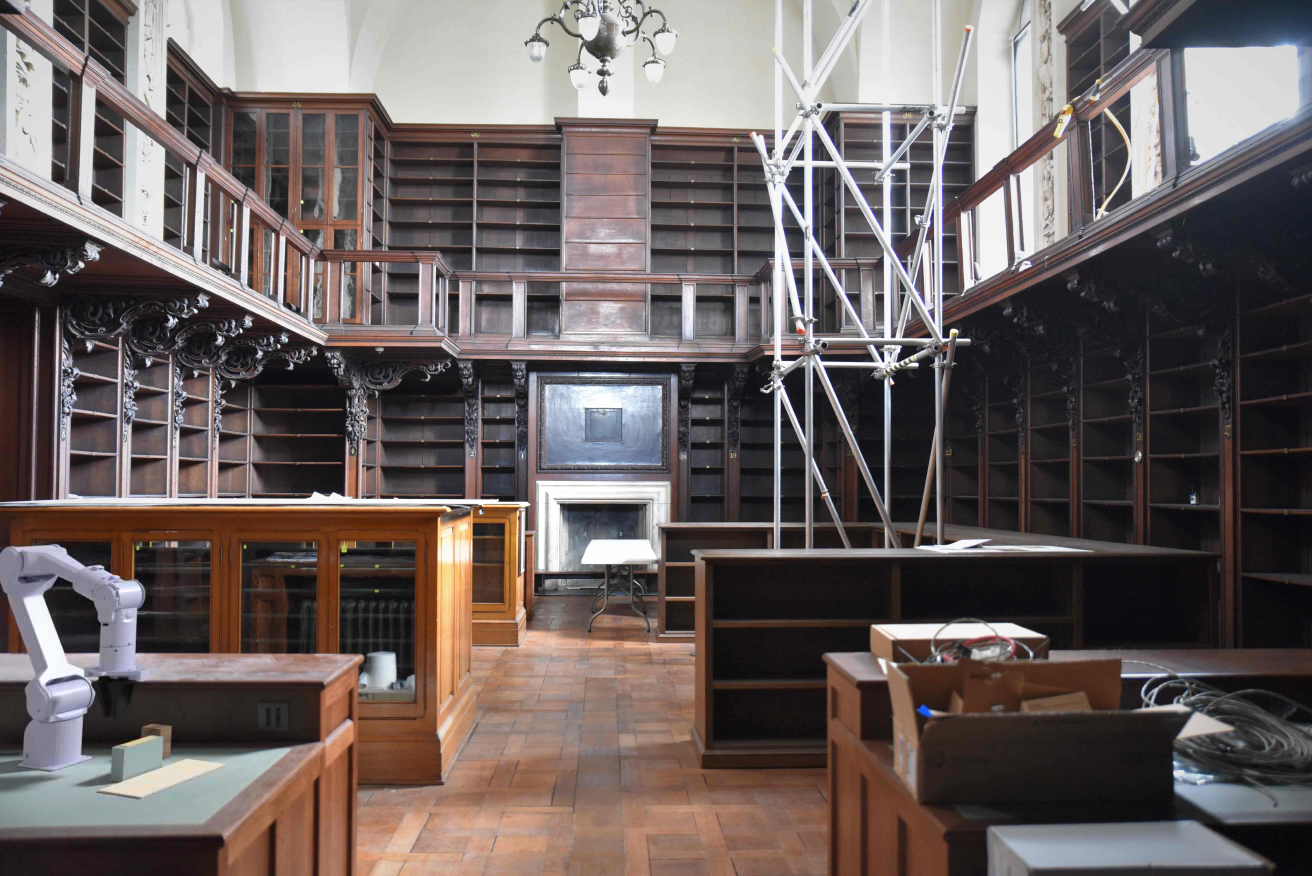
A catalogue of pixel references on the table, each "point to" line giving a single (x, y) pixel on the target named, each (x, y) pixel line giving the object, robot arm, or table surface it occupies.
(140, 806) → the table surface
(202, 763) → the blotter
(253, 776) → the table surface
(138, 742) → the blue-grey box
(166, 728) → the walnut bookend
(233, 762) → the table surface
